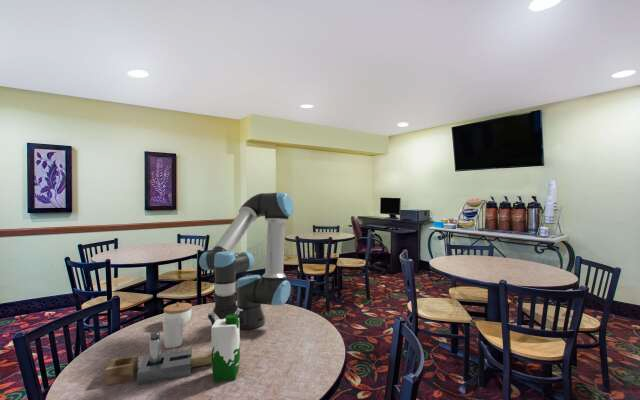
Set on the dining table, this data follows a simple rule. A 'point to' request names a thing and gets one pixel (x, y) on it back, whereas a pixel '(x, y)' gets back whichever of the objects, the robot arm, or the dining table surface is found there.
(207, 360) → the bar
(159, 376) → the socket block
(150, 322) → the dining table surface
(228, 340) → the milk carton
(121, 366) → the tan wooden open box
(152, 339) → the grey cylindrical rod
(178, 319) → the white cup
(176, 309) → the lidded bowl
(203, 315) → the dining table surface
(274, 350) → the dining table surface
